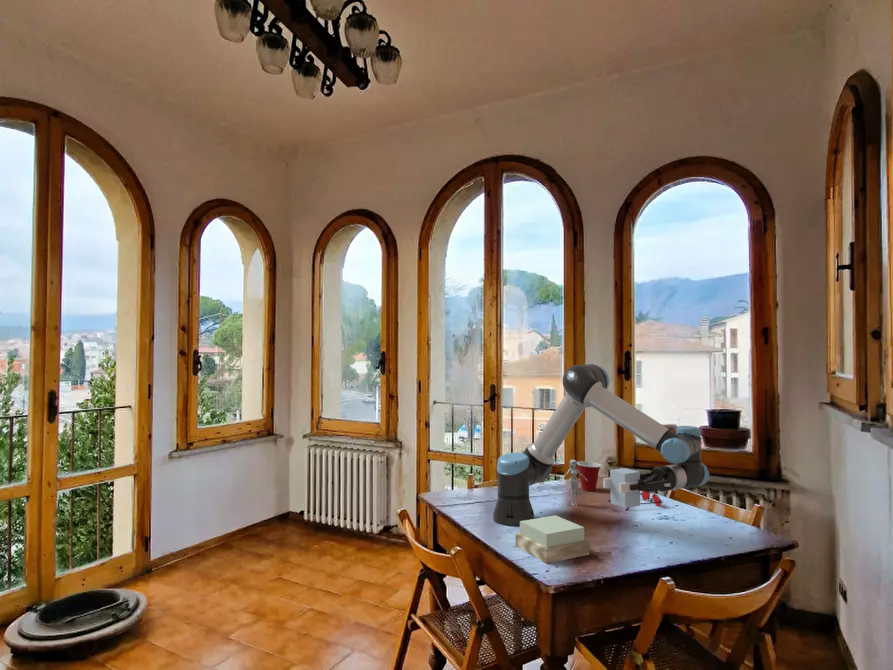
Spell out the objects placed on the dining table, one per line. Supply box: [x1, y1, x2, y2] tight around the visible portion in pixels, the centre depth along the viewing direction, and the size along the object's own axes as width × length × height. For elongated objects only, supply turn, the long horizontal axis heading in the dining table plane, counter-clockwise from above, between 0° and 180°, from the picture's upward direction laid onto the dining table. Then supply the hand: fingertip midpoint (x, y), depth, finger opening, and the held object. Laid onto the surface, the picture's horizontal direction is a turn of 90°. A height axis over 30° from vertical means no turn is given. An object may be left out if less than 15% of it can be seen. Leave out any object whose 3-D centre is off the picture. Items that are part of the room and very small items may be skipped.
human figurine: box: [559, 459, 588, 507], centre depth 220 cm, size 12×4×18 cm, turn 97°
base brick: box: [515, 532, 590, 564], centre depth 168 cm, size 16×16×4 cm
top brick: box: [519, 515, 585, 548], centre depth 168 cm, size 14×14×4 cm
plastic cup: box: [576, 460, 602, 492], centre depth 243 cm, size 11×11×12 cm
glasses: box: [608, 490, 664, 511], centre depth 219 cm, size 14×16×5 cm
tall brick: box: [609, 467, 641, 509], centre depth 163 cm, size 6×6×10 cm
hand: (612, 485), depth 161 cm, fingers closed on tall brick, 6 cm apart
